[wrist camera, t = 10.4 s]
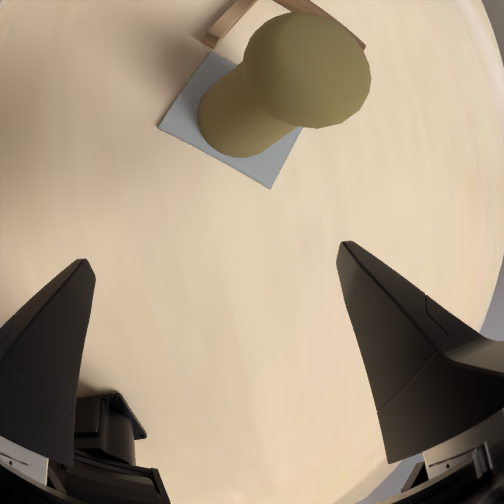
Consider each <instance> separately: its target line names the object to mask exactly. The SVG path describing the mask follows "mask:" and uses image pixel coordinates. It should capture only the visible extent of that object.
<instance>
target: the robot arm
mask: <svg viewBox="0 0 504 504" xmlns="http://www.w3.org/2000/svg"><path fill="white" fill-rule="evenodd" d="M336 265H337V270H338V274H339V279H340V283H341V287H342V292H343V296H344V301H345V304H346V308H347V311H348V314H349V317H350V320H351V323H352V326H353V329H354V332H355V335H356V339H357V342H358V345H359V348H360V352H361V355H362V358H363V362H364V365H365V369H366V372H367V376H368V379H369V383H370V387H371V390H372V394H373V398H374V402H375V406H376V410H377V415H378V419H379V423H380V428H381V432H382V436H383V441H384V446H385V451H386V456H387V461H388V464H391V463H394V462H397V461H400V460H403V459H406V458H408V457H411V456H414V455H416V454H419V453H421V452H423V456H424V460H423V461H421V462H419V463H417V464H416V466H415V467H414V469H413V471H412V473H411V475H410V476H409V478H408V480H407V481H406V483H405V485H404V487H403V488H402V490H401V494H398V495H396V496H394V497H391V498H388V499H386V500H383V501H380V502H378V503H375V504H504V341H494V340H491V339H488V338H486V337H484V336H482V335H481V334H479V333H478V332H476V331H475V330H474V329H472V328H471V327H470V326H468V325H467V324H465V323H464V322H462V321H461V320H460V319H458V318H457V317H455V316H454V315H453V314H451V313H450V312H448V311H447V310H446V309H444V308H443V307H442V306H440V305H439V304H438V303H436V302H435V301H434V300H433V299H431V298H430V297H429V296H428V295H425V293H424V292H422V291H421V290H420V289H418V288H417V287H416V286H415V285H413V284H412V283H411V282H409V281H408V280H407V279H405V278H404V277H403V276H401V275H400V274H399V273H397V272H396V271H394V270H393V269H392V268H390V267H389V266H388V265H386V264H385V263H383V262H382V261H381V260H379V259H378V258H376V257H375V256H374V255H372V254H371V253H369V252H368V251H366V250H365V249H364V248H362V247H361V246H359V245H358V244H356V243H355V242H353V241H342V242H341V243H340V246H339V251H338V255H337V260H336ZM95 282H96V278H95V274H94V272H93V270H92V268H91V266H90V264H89V262H88V260H87V259H77V260H75V261H74V262H73V263H71V264H70V265H69V266H68V267H67V268H65V269H64V270H63V271H62V272H61V273H59V274H58V275H57V276H56V277H55V278H53V279H52V280H51V281H50V282H49V283H48V284H47V285H45V286H44V287H43V288H42V289H41V290H40V291H39V292H38V293H36V294H35V295H34V296H33V297H32V298H31V299H30V300H29V301H28V302H27V303H26V304H25V305H24V306H22V307H21V308H20V309H19V310H18V311H17V312H16V313H15V315H13V316H12V317H11V318H10V319H9V320H8V321H7V322H6V323H5V324H4V325H3V326H2V327H1V328H0V504H171V503H170V500H169V497H168V495H167V492H166V490H165V487H164V485H163V482H162V480H161V477H160V474H159V472H158V469H155V468H151V469H150V468H144V467H139V466H136V459H135V443H134V440H139V439H145V438H146V437H147V433H146V431H145V430H144V429H143V427H142V426H141V424H140V423H139V421H138V420H137V418H136V417H135V415H134V414H133V412H132V411H131V409H130V408H129V406H128V404H127V403H126V401H125V400H124V398H123V396H122V395H120V394H118V393H115V394H109V395H102V396H95V397H88V398H80V399H76V396H77V387H78V379H79V372H80V366H81V359H82V354H83V348H84V343H85V338H86V333H87V328H88V324H89V319H90V313H91V307H92V300H93V294H94V288H95ZM116 398H118V399H116Z"/></svg>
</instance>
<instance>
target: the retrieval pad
mask: <svg viewBox="0 0 504 504" xmlns="http://www.w3.org/2000/svg"><path fill="white" fill-rule="evenodd" d="M236 66H237V65H236V64H234V63H232V62H230V61H228V60H227V59H225V58H223V57H221V56H219V55H217V54H215V53H213V52H210V54H209V55H208V56H207V57H206V59H205V60H204V61H203V63H202V64H201V65H200V66H199V68H198V69H197V70H196V72H195V73H194V75H193V76H192V77H191V79H190V80H189V81H188V83H187V84H186V86H185V87H184V89H183V90H182V91H181V93H180V94H179V96H178V97H177V99H176V100H175V102H174V103H173V105H172V106H171V108H170V109H169V111H168V113H167V114H166V116H165V117H164V119H163V121H162V122H161V124H160V125H159V127H158V129H160V130H162V131H164V132H166V133H168V134H170V135H172V136H174V137H176V138H178V139H180V140H182V141H184V142H186V143H188V144H190V145H192V146H194V147H196V148H198V149H199V150H201V151H203V152H205V153H207V154H209V155H211V156H212V157H214V158H216V159H218V160H220V161H222V162H223V163H225V164H227V165H229V166H231V167H232V168H234V169H236V170H238V171H239V172H241V173H243V174H245V175H246V176H248V177H250V178H252V179H253V180H255V181H257V182H258V183H260V184H262V185H263V186H265V187H267V188H268V189H271V187H272V185H273V184H274V182H275V180H276V178H277V176H278V174H279V172H280V170H281V168H282V166H283V164H284V163H285V161H286V159H287V157H288V155H289V153H290V151H291V149H292V147H293V145H294V144H295V142H296V140H297V138H298V136H299V134H300V132H301V130H302V129H303V127H298V128H296V129H295V130H293V131H292V132H290V133H289V134H287V135H286V136H284V137H283V138H281V139H280V140H278V141H277V142H275V143H274V144H273V145H271V146H270V147H268V148H267V149H265V150H264V151H263V152H261V153H260V154H257V155H254V156H251V157H248V158H234V157H230V156H227V155H224V154H221V153H220V152H218V151H217V150H215V149H214V148H212V147H211V146H210V145H209V144H208V143H207V141H206V140H205V139H204V138H203V136H202V135H201V132H200V129H199V127H198V124H197V109H198V106H199V103H200V101H201V98H202V97H203V96H204V94H205V93H206V92H207V91H208V90H209V88H211V87H212V86H213V85H214V84H215V83H216V82H218V81H219V80H220V79H221V78H222V77H224V76H225V75H226V74H227V73H229V72H230V71H231V70H232V69H234V68H235V67H236Z"/></svg>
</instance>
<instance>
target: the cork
mask: <svg viewBox="0 0 504 504" xmlns="http://www.w3.org/2000/svg"><path fill="white" fill-rule="evenodd" d="M370 84H371V74H370V68H369V64H368V61H367V59H366V56H365V54H364V52H363V50H362V48H361V47H360V46H359V44H358V43H357V41H356V40H355V38H354V37H353V36H352V35H351V34H350V33H349V32H347V31H346V30H345V29H344V28H343V27H342V26H341V25H339V24H337V23H336V22H334V21H332V20H331V19H329V18H327V17H324V16H321V15H318V14H315V13H305V12H292V13H286V14H283V15H280V16H277V17H274V18H272V19H270V20H268V21H267V22H265V23H264V24H263V25H262V26H261V27H260V28H259V29H258V30H256V31H255V33H254V34H253V35H252V37H251V38H250V40H249V42H248V45H247V47H246V50H245V52H244V57H243V62H241V63H240V64H239V65H237V66H236V67H235V68H234V69H232V70H231V71H230V72H229V73H227V74H226V75H225V76H224V77H222V78H221V79H220V80H219V81H218V82H216V83H215V84H214V85H213V86H212V87H211V88H209V90H208V91H207V92H206V93H205V94H204V96H203V97H202V98H201V101H200V103H199V106H198V109H197V124H198V127H199V129H200V132H201V135H202V136H203V138H204V139H205V140H206V141H207V143H208V144H209V145H210V146H211V147H212V148H214V149H215V150H217V151H218V152H220V153H221V154H224V155H227V156H230V157H234V158H248V157H251V156H254V155H257V154H260V153H261V152H263V151H264V150H265V149H267V148H268V147H270V146H271V145H273V144H274V143H275V142H277V141H278V140H280V139H281V138H283V137H284V136H286V135H287V134H289V133H290V132H292V131H293V130H295V129H296V128H298V127H308V128H316V129H318V128H322V127H327V126H331V125H336V124H340V123H342V122H344V121H345V120H346V119H348V118H349V117H350V116H352V115H353V114H355V113H356V112H357V111H359V110H360V108H361V107H362V105H363V103H364V101H365V100H366V98H367V96H368V93H369V90H370Z"/></svg>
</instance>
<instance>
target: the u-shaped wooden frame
mask: <svg viewBox="0 0 504 504" xmlns="http://www.w3.org/2000/svg"><path fill="white" fill-rule="evenodd" d="M257 1H258V0H237V1H236V2H235V3H234V4H233V5H232V6H231V7H230V8H229V9H228V10H227V11H226V12H225V13H224V14H223V15H222V16H221V17H220V18H219V19H218V20H217V22H216V23H215V24H214V25H213V26H212V27H211V28H210V29H209V30H208V31H207V33H206V36H205V38H204V41H203V44H205V45H207V46H209V47H211V48H213V49H214V48H215V47H216V46H217V44H218V43H219V42H220V41H221V40H222V38H223V37H224V36H225V35H226V34H227V33H228V32H229V30H230V29H231V28H232V27H233V26H234V25H235V24H236V23H237V22H238V20H239V19H240V18H241V17H242V16H243V15H244V14H245V13H246V12H247V11H248V10H249V9H250V8H251V7H252V6H253V5H254V4H255V3H256V2H257ZM273 1H275V2H277V3H279V4H280V5H282V6H284V7H285V8H287V9H288V10H290V11H291V12H305V13H315V14H318V15H321V16H324V17H327V18H329V19H331V20H332V21H334V22H336V23H337V24H339V25H341V26H342V27H343V28H344V29H345V30H346V31H347V32H349V33H350V34H351V35H352V36H353V37H354V38H355V40H356V41H357V43H358V44H359V46H360V47H361V48H362V50H363V51H364V49H365V47H366V45H365V44H364V43H363V42H362V41H361V40H360V39H359V38H358V37H356V36H355V35H354V34H353V33H352V32H351V31H349V30H348V29H347V28H346V27H345V26H343V25H342V24H341V23H340V22H338V21H337V20H336V19H335V18H333V17H332V16H331V15H329V14H328V13H327V12H325V11H324V10H323V9H321V8H320V7H318V6H317V5H316V4H314V3H313V2H311V1H310V0H273Z"/></svg>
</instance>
